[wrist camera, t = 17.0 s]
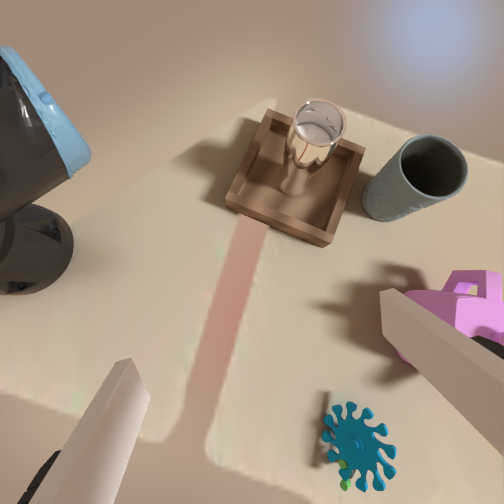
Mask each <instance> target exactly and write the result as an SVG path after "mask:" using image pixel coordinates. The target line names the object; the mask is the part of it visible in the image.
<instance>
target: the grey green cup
mask: <svg viewBox="0 0 504 504" xmlns="http://www.w3.org/2000/svg"><path fill="white" fill-rule="evenodd" d="M467 178H468V165H467V162H466V159H465V157H464V155H463V154H462V152H461V151H460V150H459V149H458V147H456V146H455V145H454V144H453V143H452V142H450V141H449V140H447V139H445V138H443V137H440V136H437V135H432V134H423V135H418V136H415V137H413V138H411V139H409V140H408V141H407V142H406V143H405V144H404V145H403V146H402V147H401V148H400V149H399V151H398V152H397V153H396V154H395V155H394V156H393V157H392V158H391V159H390V160H389V161H388V162H387V164H386V165H385V166H384V167H383V168H382V169H381V170H380V172H379V173H377V175H376V176H375V177H374V178H373V179H372V180H371V182H369V184H368V185H367V186H366V187H365V188H364V190H363V193H362V197H361V199H362V205H363V207H364V209H365V211H366V212H367V213H368V215H369V216H370V217H372V218H373V219H375V220H378V221H381V222H391V221H395V220H397V219H400V218H402V217H405V216H406V215H408V214H410V213H413V212H415V211H418V210H420V209H421V208H426V207H429V206H431V205H433V204H436V203H438V202H441V201H443V200H446V199H448V198H451V197H453V196H455V195H456V194H458V193H459V192H460V191H461V190H462V189H463V187H464V186H465V184H466V182H467Z"/></svg>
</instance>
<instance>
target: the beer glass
mask: <svg viewBox="0 0 504 504" xmlns="http://www.w3.org/2000/svg"><path fill="white" fill-rule="evenodd" d="M345 130H346V119H345V116H344V114H343V112H342V111H341V109H340V108H339V107H338V106H337V105H335V104H334V103H332V102H330V101H328V100H324V99H311V100H308V101H305V102H303V103H302V104H301V105H300V106H299V107H298V108H297V109H296V111H295V113H294V117H293V119H292V122H291V124H290V126H289V129H288V132H287V135H286V139H285V143H284V150H283V167H282V168H281V170H280V171H279V173H278V176H277V184H278V187H279V189H280V190H281V191H282V192H283V193H285V194H287V195H289V196H299V195H301V194H303V193H304V192H306V190H307V189H308V187H309V185H310V180H311V178H312V177H313V176H314V175H315V174H316V173H318V172H319V171H320V170H321V169H322V168H323V167H324V166H325V165H326V163H327V162H328V161H329V159H330V158H331V157H332V155H333V153H334V151H335V150H336V148H337V146H338V144H339V142H340V140H341V138H342V136H343V135H344V133H345Z"/></svg>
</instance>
